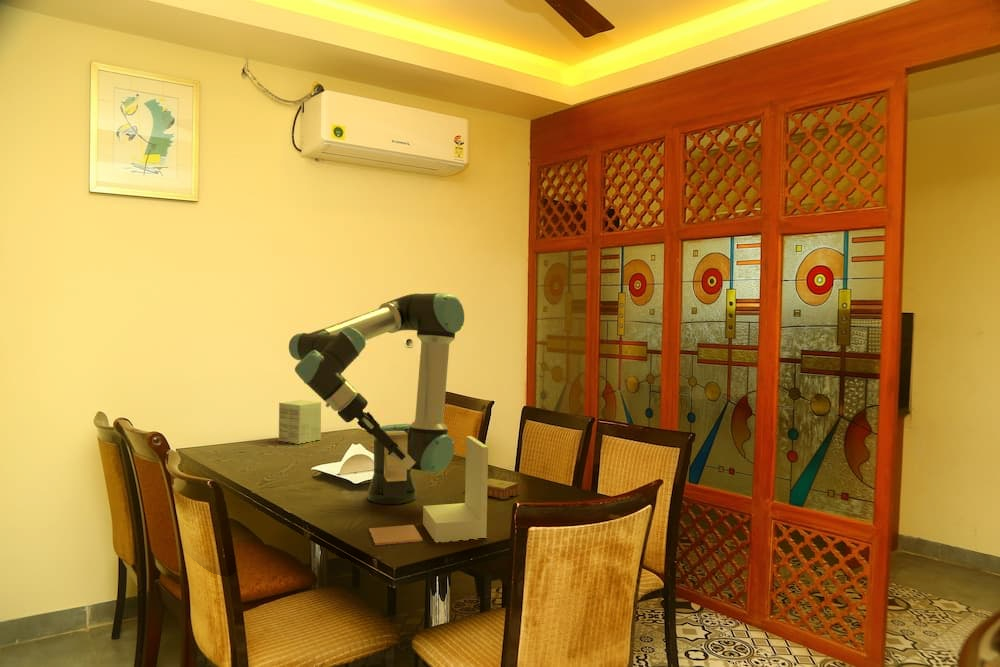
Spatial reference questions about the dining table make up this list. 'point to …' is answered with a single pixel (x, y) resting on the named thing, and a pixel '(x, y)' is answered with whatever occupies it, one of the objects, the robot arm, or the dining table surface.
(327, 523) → the dining table surface
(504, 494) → the carton
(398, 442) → the maple block
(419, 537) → the tile pad
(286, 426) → the supplement box
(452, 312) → the robot arm
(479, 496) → the l-shaped bookend
